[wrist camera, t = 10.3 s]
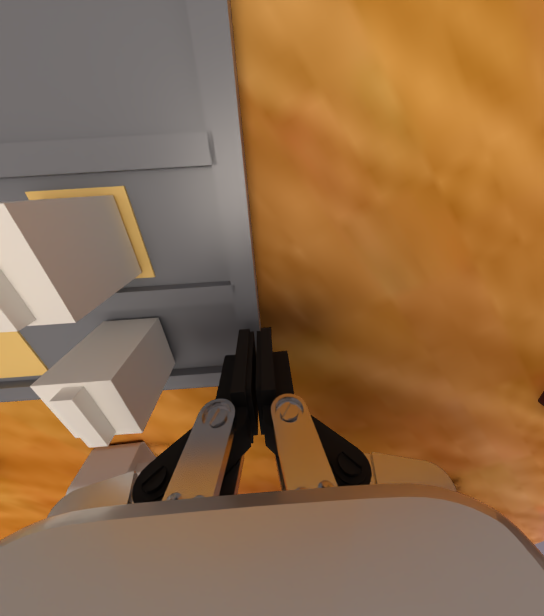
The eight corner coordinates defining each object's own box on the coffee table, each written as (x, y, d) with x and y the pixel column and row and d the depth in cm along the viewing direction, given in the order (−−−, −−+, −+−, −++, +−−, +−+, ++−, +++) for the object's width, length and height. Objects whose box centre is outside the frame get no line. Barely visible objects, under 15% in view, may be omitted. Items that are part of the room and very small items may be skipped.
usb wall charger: (96, 443, 20) (61, 498, 17) (169, 435, 20) (150, 488, 16) (117, 465, 22) (90, 517, 19) (184, 457, 22) (169, 509, 18)
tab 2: (158, 317, 12) (100, 394, 8) (175, 363, 14) (135, 446, 9) (103, 321, 12) (14, 400, 8) (127, 366, 14) (65, 452, 9)
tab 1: (112, 194, 9) (-26, 205, 5) (141, 272, 11) (60, 334, 6) (39, 199, 9) (-171, 214, 5) (79, 276, 11) (-45, 341, 6)
